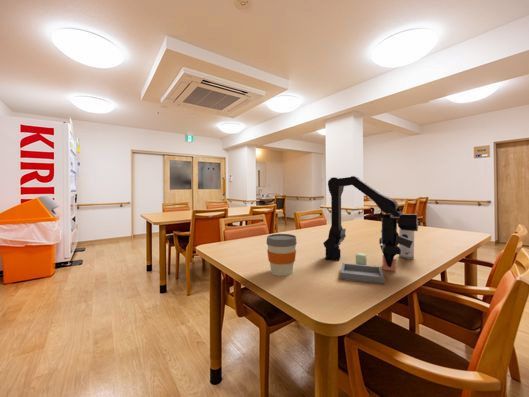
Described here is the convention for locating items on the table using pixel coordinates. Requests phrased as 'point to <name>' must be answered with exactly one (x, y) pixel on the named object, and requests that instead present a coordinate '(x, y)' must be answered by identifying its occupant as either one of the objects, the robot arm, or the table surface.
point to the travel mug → (405, 252)
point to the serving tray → (362, 273)
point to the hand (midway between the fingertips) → (388, 264)
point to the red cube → (385, 266)
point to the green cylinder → (361, 259)
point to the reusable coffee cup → (281, 253)
